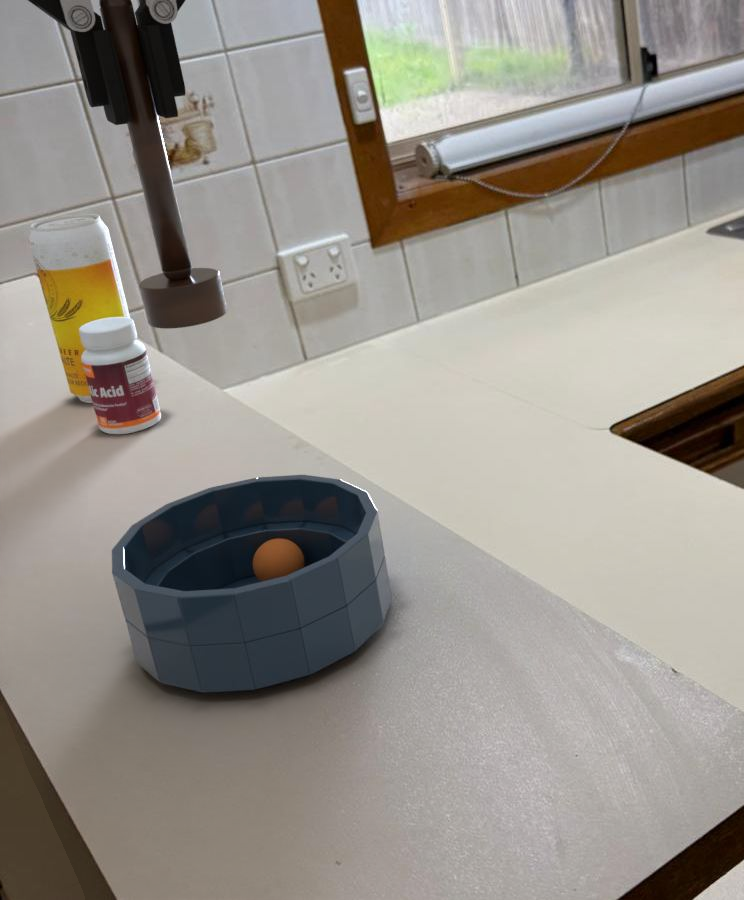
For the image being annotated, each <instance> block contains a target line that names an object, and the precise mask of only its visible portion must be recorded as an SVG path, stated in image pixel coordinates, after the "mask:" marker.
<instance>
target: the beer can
mask: <svg viewBox="0 0 744 900" xmlns="http://www.w3.org/2000/svg"><path fill="white" fill-rule="evenodd" d="M28 243H29V247H30V251H31V254H32V258H33V262H34V265H35V268H36V272H37V276H38V279H39V283H40V287H41V290H42V294H43V298H44V302H45V305H46V308H47V312H48V313H47V314H48V316H49V320H50V323H51V327H52V331H53V335H54V337H55V342H56V345H57V349H58V352H59V356H60V359H61V364H62V368H63V370H64V375H65V377H66V382H67V384H68V389H69V392H70V393H71V394H72V395H74V396H76V397H77V398H78V399H79V401H80V402H83V403H86V404H87V403H88V404H93V402H92V399H91V395H90V391H89V387H88V383H87V380H86V376H85V372H84V368H83V365H82V360H81V356H82V353H83V352H84V351H85V350H86V349H87V348H84V347H83V344H82V343H81V338H80V333H79V328H80V327H81V326H82V325H84V324H86V323H89V322H91V321H95V320H99V319H104V318H110V317H128V318H131V316H130V313H129V307H128V303H127V299H126V295H125V291H124V287H123V282H122V278H121V275H120V270H119V267H118V263H117V258H116V255H115V250H114V247H113V243H112V238H111V235H110V229H109V228H108V226H107V225H106V224H105V223H104V221H103V220H102V219H101V216H100V214H97V213H76V214H75V213H73V214H66V215H59V216H55V217H49V218H44V219H42V220H41V219H40V220H39V221H36V222H33V223H31V225H30V233H29V238H28Z"/></svg>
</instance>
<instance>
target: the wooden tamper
mask: <svg viewBox="0 0 744 900" xmlns="http://www.w3.org/2000/svg"><path fill="white" fill-rule="evenodd" d="M98 8H99V12H100V16H101V20H102V24H103V28H104V30H107V32H111V34H112V36H113V40H114V44H115V49H116V53H117V57H118V61H119V65H120V70H121V74H122V78H123V82H124V87H125V91H126V95H127V99H128V104H129V108H130V112H131V117H132V120H128V124H126V125H127V129H128V134H129V138H130V143H131V146H132V151H133V155H134V160H135V164H136V167H137V171H138V176H139V181H140V184H141V188H142V193H143V196H144V200H145V205H146V209H147V213H148V217H149V222H150V226H151V230H152V235H153V238H154V243H155V247H156V251H157V255H158V259H159V264H160V268H161V271H162V272H161V273H158V274H155V275H152V276H149V277H147V278H144V279H143V280H141V281H140V282H139V284H138V289H139V292H140V296H141V301H142V305H143V308H144V312H145V316H146V321H147V325H148V326H150V327H152V328H155V329H181V328H182V329H183V328H188V327H194V326H199V325H203V324H206V323H211V322H213V321H215V320H217V319H220V318H222V317H224V316H225V315H226V314H227V313H228V306H227V301H226V297H225V293H224V288H223V283H222V278H221V273H220V271H219V270H217V269H215V268H210V267H193V265H192V260H191V256H190V252H189V248H188V242H187V239H186V234H185V229H184V226H183V221H182V216H181V212H180V208H179V203H178V200H177V195H176V191H175V186H174V182H173V176H172V173H171V167H170V164H169V160H168V159H169V158H168V155H167V150H166V146H165V142H164V141H165V140H164V138H163V133H162V129H161V124H160V120H159V115H157V112H156V108H155V103H154V99H153V94H152V90H151V86H150V81H149V77H148V72H147V68H146V64H145V59H144V55H143V51H142V46H141V42H140V37H139V33H138V27H137V20H136V16H135V10H134V5H133V2H132V0H98Z"/></svg>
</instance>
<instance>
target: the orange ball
mask: <svg viewBox="0 0 744 900" xmlns="http://www.w3.org/2000/svg"><path fill="white" fill-rule="evenodd" d="M304 563H305V562H304V556H303V553H302V551H301V550H300V548H299V547H298V546H297V545H296V544H295V543H293V542H292V541H290V540H287V539H281V538H278V539H272V540H269V541H267V542H265V543H264V544H262V545H261V546H260V547H259V548H258V550H257V551H256V553H255V555H254V558H253V570H254V573H255V575H256V577H257V579H258V580H259V581H260V582H263V581H267V580H271V579H275V578H279V577H283V576H287V575H289V574H291V573H293V572H296V571H298V570H300V569H302V568H304Z"/></svg>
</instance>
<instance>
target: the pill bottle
mask: <svg viewBox="0 0 744 900" xmlns="http://www.w3.org/2000/svg"><path fill="white" fill-rule="evenodd" d="M79 333H80V338H81V343H82V344H83V347H84V348H87V349H86V350H85V351H84V352H83V353H82V356H81V360H82V365H83V368H84V372H85V376H86V380H87V383H88V387H89V391H90V395H91V399H92V402H93V403H92V406H93V410H94V413H95V417H96V421H97V425H98V428H99V430H100V431H101V432H103V433H106V434H110V435H127V434H133V433H136V432H140V431H143V430H145V429H149V428H150V427H153V426H155V425H156V424H158V423H159V422H160V420H161V418H162V412H161V409H160V405H159V399H158V396H157V391H156V386H155V383H154V378H153V374H152V369H151V366H150V365H151V364H150V361H149V357H148V353H147V351H148V350H147V348H146V346H145V345H144V343H143V342H141V341H140V340H138V339H137V338H138V334H137V333H138V332H137V328H136V325H135V321H134V319H133V318H131V317H130V318H128V317H110V318H104V319H99V320H95V321H91V322H89V323H86V324H84V325H82V326H81V327H80V328H79Z"/></svg>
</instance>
